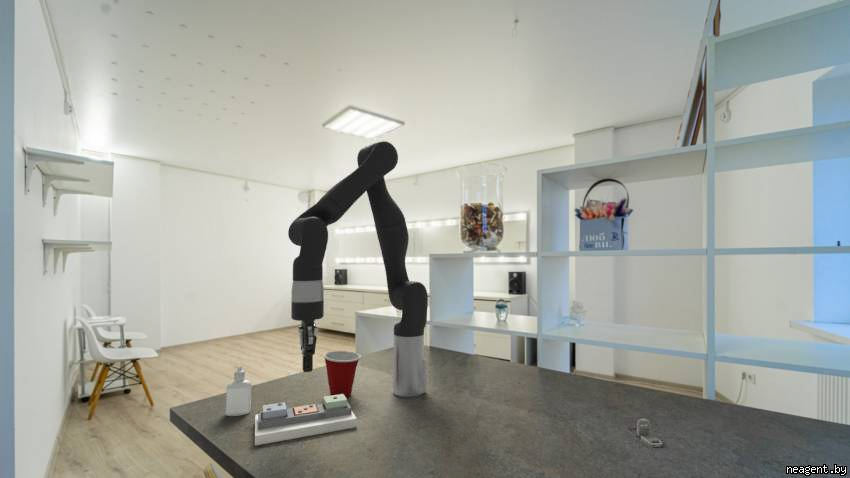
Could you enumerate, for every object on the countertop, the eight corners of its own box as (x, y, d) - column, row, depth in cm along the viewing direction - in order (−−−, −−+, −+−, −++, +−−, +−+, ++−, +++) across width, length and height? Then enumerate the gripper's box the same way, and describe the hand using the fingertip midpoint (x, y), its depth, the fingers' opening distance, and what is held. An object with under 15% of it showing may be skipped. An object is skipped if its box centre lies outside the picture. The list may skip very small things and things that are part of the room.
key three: (315, 410, 92) (315, 403, 92) (317, 417, 88) (317, 410, 88) (293, 413, 90) (293, 406, 90) (295, 421, 86) (295, 413, 86)
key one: (343, 399, 95) (343, 393, 95) (347, 406, 91) (347, 399, 91) (323, 402, 93) (323, 396, 93) (326, 409, 89) (326, 402, 89)
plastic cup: (355, 403, 103) (356, 359, 104) (317, 402, 104) (318, 358, 104) (363, 389, 114) (364, 349, 115) (329, 389, 114) (329, 349, 115)
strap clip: (664, 447, 80) (663, 427, 80) (651, 448, 79) (650, 428, 80) (637, 429, 88) (637, 411, 88) (625, 430, 88) (625, 412, 88)
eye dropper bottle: (241, 418, 93) (243, 369, 94) (222, 415, 94) (224, 367, 95) (253, 411, 97) (254, 364, 98) (234, 409, 99) (236, 363, 99)
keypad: (345, 408, 99) (345, 395, 99) (356, 427, 88) (356, 411, 88) (255, 423, 90) (255, 408, 90) (254, 445, 79) (255, 428, 79)
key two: (285, 408, 90) (285, 401, 90) (286, 415, 86) (286, 408, 86) (262, 411, 88) (262, 404, 88) (262, 419, 84) (262, 411, 84)
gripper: (328, 300, 86) (328, 376, 86) (319, 295, 98) (319, 362, 98) (294, 302, 83) (293, 381, 82) (289, 297, 95) (288, 365, 94)
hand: (307, 370), depth 90 cm, fingers closed
